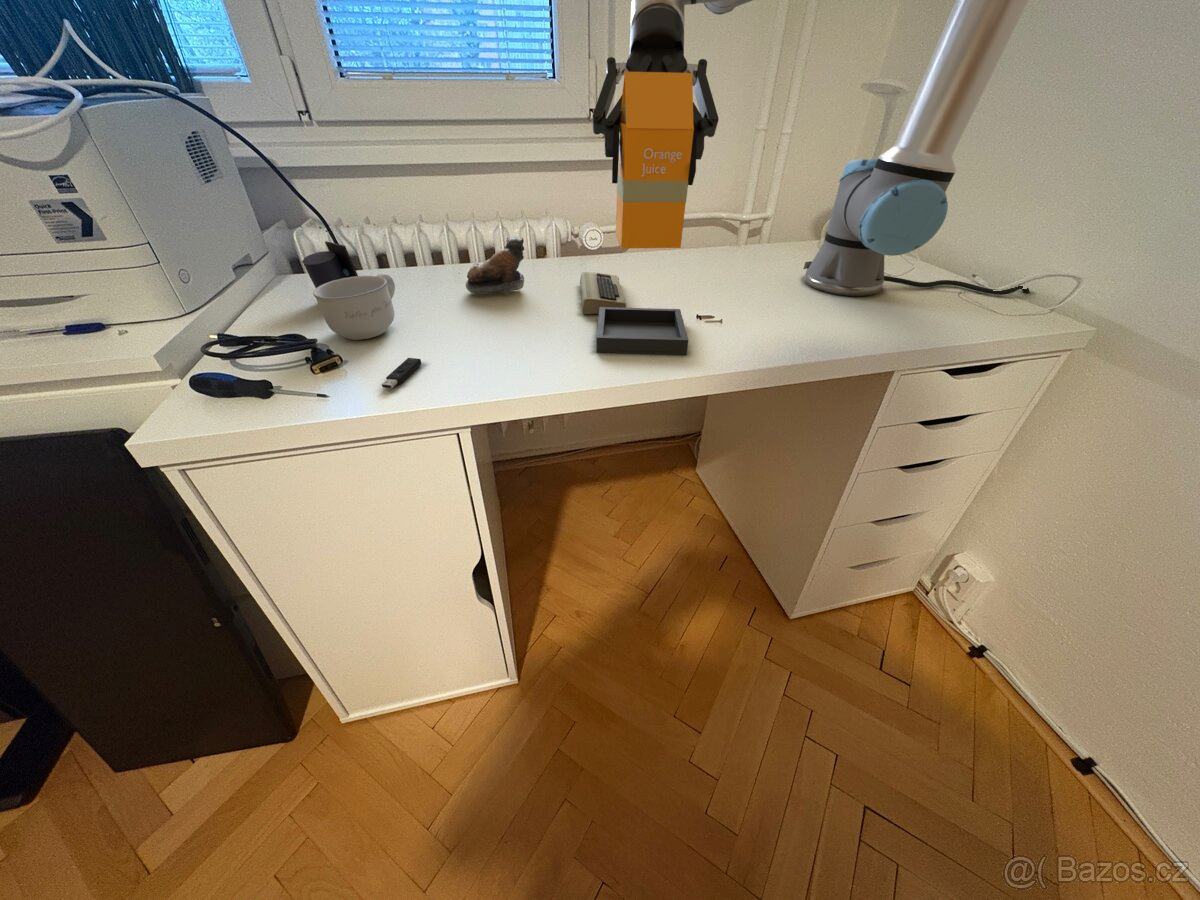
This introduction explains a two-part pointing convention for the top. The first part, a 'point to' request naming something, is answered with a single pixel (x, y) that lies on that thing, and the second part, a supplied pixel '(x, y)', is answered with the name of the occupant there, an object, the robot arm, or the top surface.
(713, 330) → the top surface
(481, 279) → the bison figurine
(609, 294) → the computer
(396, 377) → the usb flash drive
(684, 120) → the orange juice
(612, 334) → the dark gray rectangular tray
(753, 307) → the top surface
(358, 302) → the teacup
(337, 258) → the speaker
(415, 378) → the top surface
